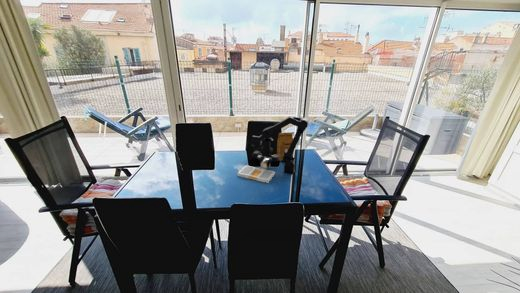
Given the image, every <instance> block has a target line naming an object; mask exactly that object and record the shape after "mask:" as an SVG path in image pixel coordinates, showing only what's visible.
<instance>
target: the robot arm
mask: <svg viewBox="0 0 520 293" xmlns="http://www.w3.org/2000/svg"><path fill="white" fill-rule="evenodd" d="M289 125H293V126H295V127H296V131H295V134H294V136H293V140H292V143H291V145H290V147H289V149H288V150H287V149H286V150H285V152H284V154H283V156H282V157H283V162H284V165H283V166H284V167H283V174H288V175H294V173H295V172H296V168H295V167H296V163H295V162H296V158H295V157H294V156H293V152H294V153H295V150H296V147H297V145H298V143H299V140H300V138H301V136H302V134H303V133H304V132H305V130H306V129H307V128H308V126H309V120H308V118H307V117H297V116H292V115H290V116H288V117H286V118H285V119H283V120H281V121H279V122H278V123H275V124H274V125H273V126H272V125H271V126H268V127H265V128H264V129H263V130H262V131H261V134H260V135H259V136H258V135H252V136H251V140H250V146H252V145H254V146H260V145H261V144H262V149H261V150H262V154H261V153H260V151H255V152H254V151H253V152H252V155H251V157H252V158H256V157H257V156H258V158H257V159H256V160H258V161H259V162H260V164H261V162H262V161H263V160H264V158H263V157H267V158H268V159H269V160H268V169H269V168H270V167H271V164H272V162H276V163H277V162H278V161H279V159H280V156H279V155H277V153H276V154H273V155H272V153H273V151H274V148H272V147H271V143H272V142H274V139H273V138H272V136H273V135H274V133H276V132H277V131H279V130H281V129H283V128H285V127H287V126H289ZM269 166H270V167H269Z"/></svg>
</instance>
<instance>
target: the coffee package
mask: <svg viewBox="0 0 520 293" xmlns="http://www.w3.org/2000/svg"><path fill="white" fill-rule="evenodd" d="M293 135H294V133H293V132H289V131H288V132H286V131H285V132H279V133H278V137H277V144H276V155H279V156H280V159H279V160H278V161H279V162H281V161H283V157H282V156H283V154H284V152H285V150H286V149H287V150H288V149H289V147H290V145H291V143H292V140H293V138H294V136H293ZM294 153H295V151H294V152H293V157H294ZM283 162H284V161H283Z"/></svg>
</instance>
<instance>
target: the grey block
mask: <svg viewBox="0 0 520 293" xmlns="http://www.w3.org/2000/svg"><path fill="white" fill-rule="evenodd" d="M268 160H269V158H263V161H262V162H261V163H260V169H265V170H269V168H270V167H271V165H270V166H269V168H268Z"/></svg>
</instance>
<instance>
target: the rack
mask: <svg viewBox="0 0 520 293" xmlns="http://www.w3.org/2000/svg"><path fill="white" fill-rule="evenodd" d="M275 174H276V172H275V171H273V170H270V169H267V170H265V169H261V167H260V168H259V167H254V166H250V165H248V164H245V165H244V166H243V167H242V168H241V169H240V170H239V171H238V172H237V176H238V177H241V178H245V179H250V180H255V181H257V182H262V183H265V182H266V184H269V183H270V182H271V181H272V179H273V178H272V177H274V176H275ZM269 181H270V182H269Z"/></svg>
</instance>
